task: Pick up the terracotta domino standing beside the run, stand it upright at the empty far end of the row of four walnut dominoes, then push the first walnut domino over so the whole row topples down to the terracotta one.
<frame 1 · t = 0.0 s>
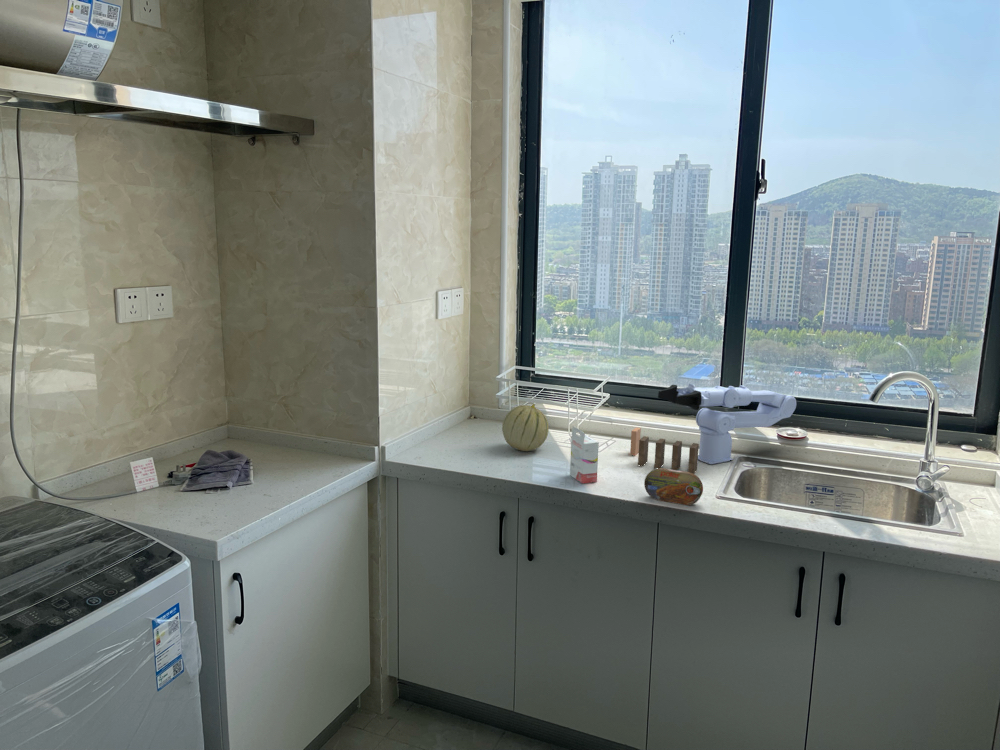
hand: (667, 397, 215), 22 cm above the worktop, tool horizontal, fingers open, 7 cm apart
tin: (672, 501, 193), on the worktop
domino 3: (659, 466, 221), on the worktop
domino 1: (692, 471, 217), on the worktop
ink cartridge box: (583, 479, 209), on the worktop
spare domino: (634, 453, 233), on the worktop
domino 2: (675, 469, 219), on the worktop
domino 4: (642, 463, 223), on the worktop
cantaloupe: (524, 450, 235), on the worktop
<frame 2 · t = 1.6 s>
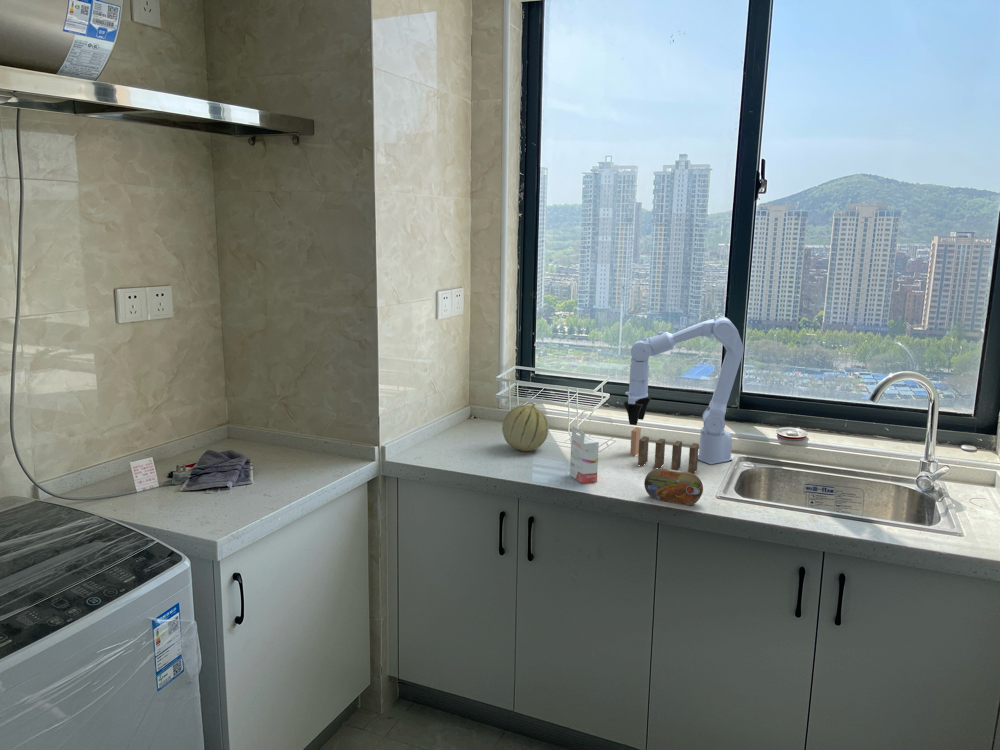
hand: (636, 421, 231), 10 cm above the worktop, tool pointing down, fingers open, 7 cm apart
nothing on the worktop moved.
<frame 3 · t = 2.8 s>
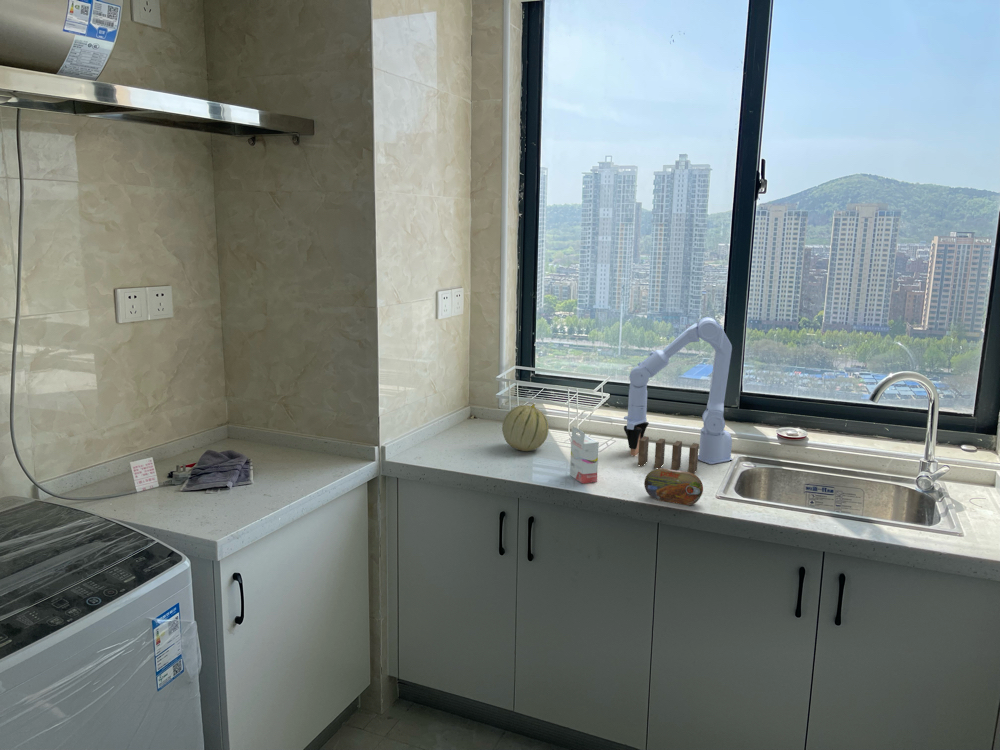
hand: (635, 446, 233), 2 cm above the worktop, tool pointing down, fingers closed on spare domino, 5 cm apart
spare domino: (634, 453, 233), on the worktop, touching gripper
everything else where it was.
when the fingers open (3 cm above the worktop, at t = 7.1 s): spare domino drops 1 cm, on the worktop.
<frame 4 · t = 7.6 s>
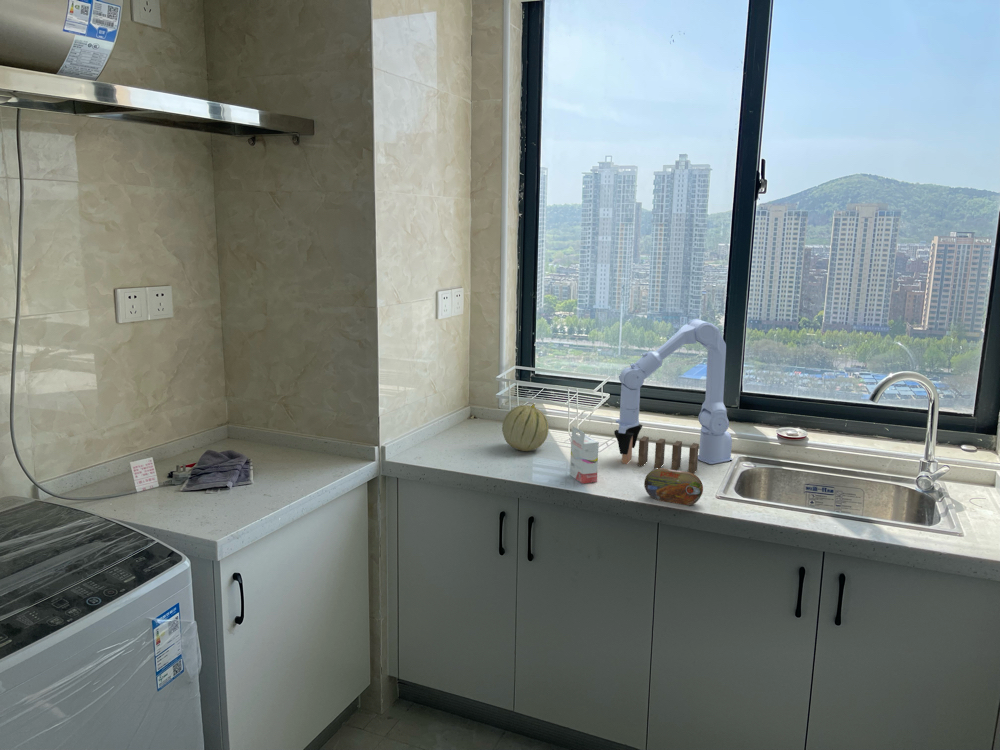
hand: (627, 450, 225), 3 cm above the worktop, tool pointing down, fingers open, 7 cm apart
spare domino: (626, 461, 225), on the worktop
everything else where it was.
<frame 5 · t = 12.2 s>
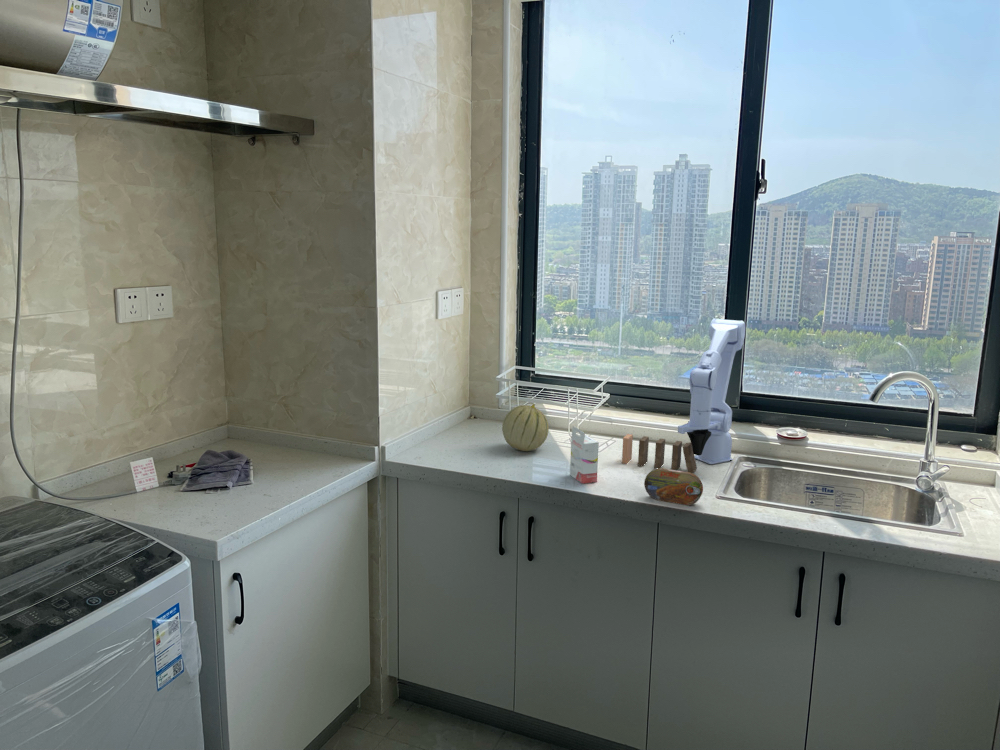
hand: (697, 454, 215), 5 cm above the worktop, tool pointing down, fingers closed
domino 1: (692, 470, 217), on the worktop, tilted 15°
everything else where it was.
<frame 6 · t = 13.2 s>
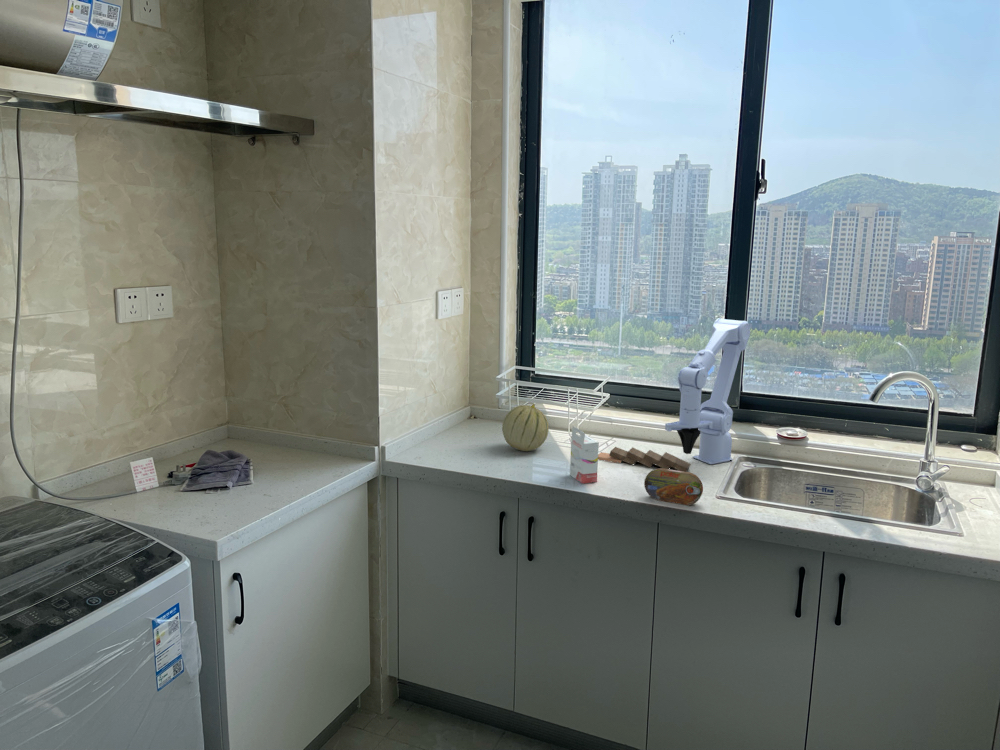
hand: (687, 453, 216), 5 cm above the worktop, tool pointing down, fingers closed
domino 3: (653, 463, 222), point 1 cm above the worktop, tilted 72°, touching domino 2, domino 4
domino 1: (687, 468, 217), point 1 cm above the worktop, tilted 72°, touching domino 2
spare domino: (623, 460, 226), on the worktop, tilted 90°
domino 2: (670, 465, 219), point 1 cm above the worktop, tilted 72°, touching domino 1, domino 3
domino 4: (636, 460, 224), point 1 cm above the worktop, tilted 77°, touching domino 3
everything else where it was.
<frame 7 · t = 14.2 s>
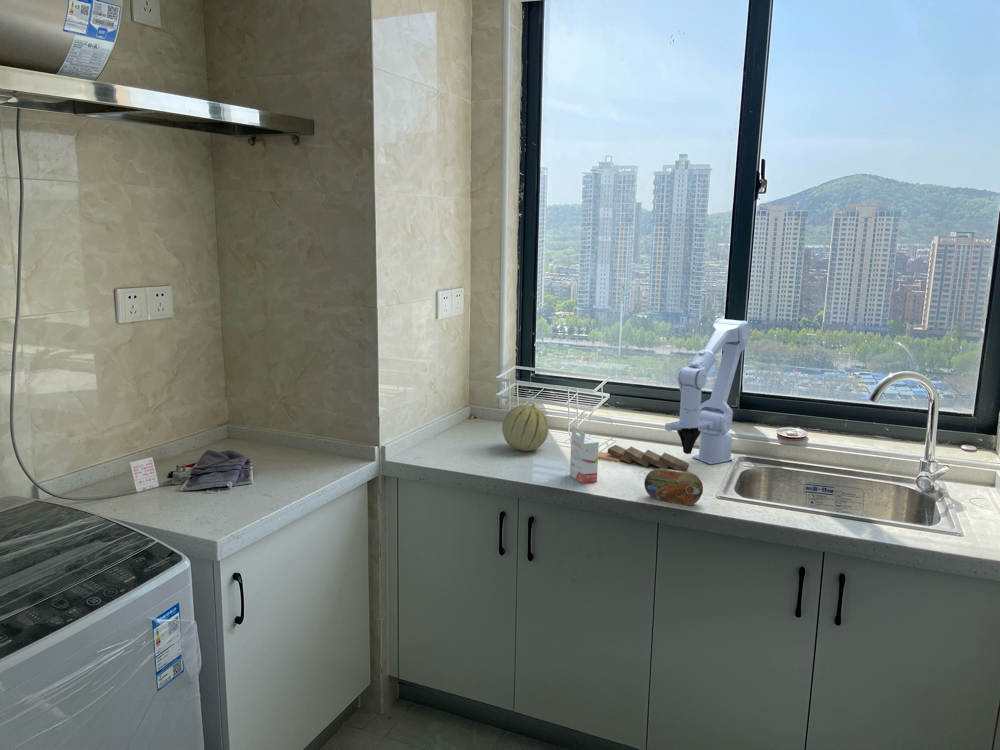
hand: (687, 453, 216), 5 cm above the worktop, tool pointing down, fingers closed
domino 4: (634, 459, 225), point 1 cm above the worktop, tilted 77°, touching domino 3
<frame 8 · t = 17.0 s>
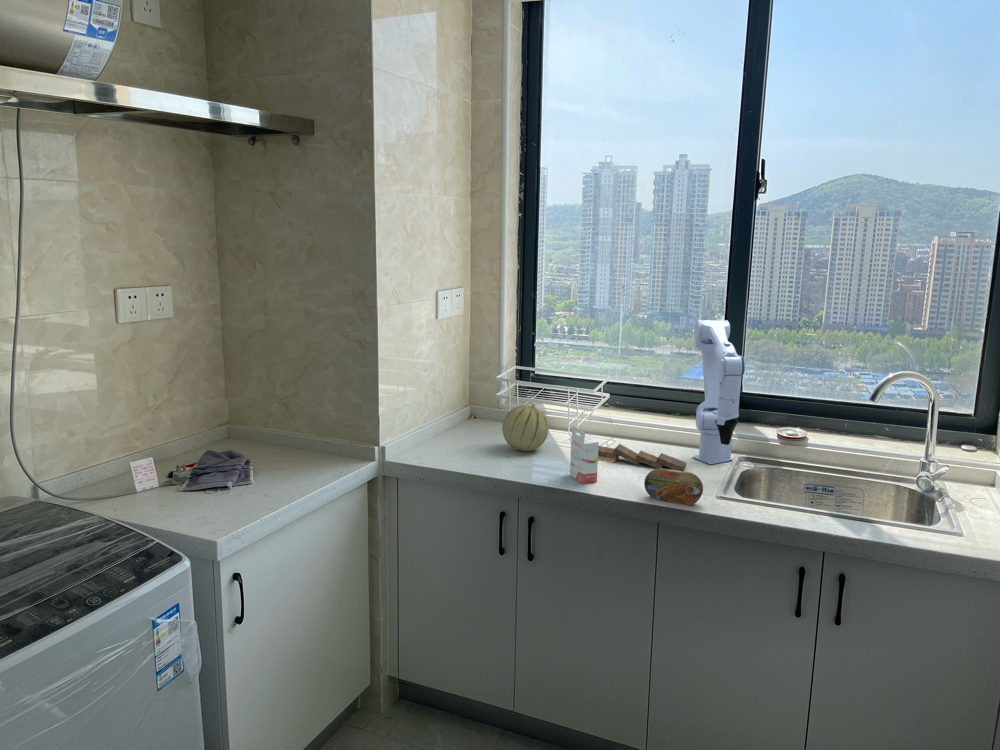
hand: (725, 443, 212), 9 cm above the worktop, tool pointing down, fingers closed
domino 3: (639, 460, 224), point 1 cm above the worktop, tilted 67°
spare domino: (617, 459, 227), on the worktop, tilted 90°, touching domino 4
domino 2: (663, 464, 220), point 1 cm above the worktop, tilted 76°, touching domino 1
domino 4: (619, 454, 226), point 2 cm above the worktop, tilted 90°, touching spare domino
at the end: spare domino tilted 90°; domino 3 tilted 68°; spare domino 0.4 cm from the domino 4 (horizontally) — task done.
